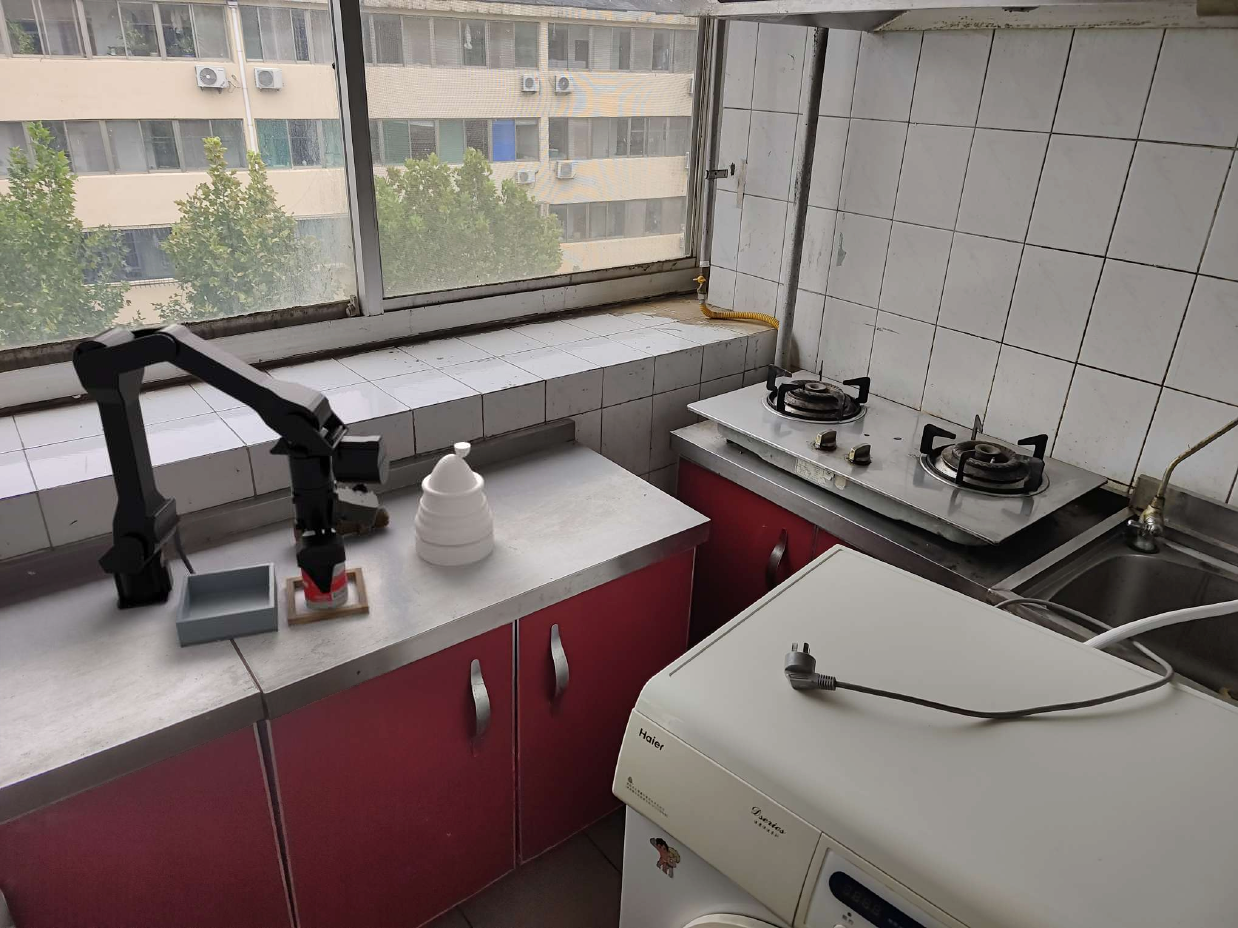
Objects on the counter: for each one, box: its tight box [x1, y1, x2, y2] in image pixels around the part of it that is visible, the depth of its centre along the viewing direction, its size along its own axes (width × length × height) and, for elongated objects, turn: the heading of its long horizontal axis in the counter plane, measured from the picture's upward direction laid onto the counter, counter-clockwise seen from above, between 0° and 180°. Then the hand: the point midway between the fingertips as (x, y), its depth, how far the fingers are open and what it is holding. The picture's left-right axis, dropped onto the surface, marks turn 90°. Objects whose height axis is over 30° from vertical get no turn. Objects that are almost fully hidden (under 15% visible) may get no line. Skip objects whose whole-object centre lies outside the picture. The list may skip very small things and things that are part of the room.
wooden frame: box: [285, 566, 370, 627], centre depth 123 cm, size 11×11×1 cm
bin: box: [175, 562, 279, 648], centre depth 118 cm, size 12×12×4 cm
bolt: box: [292, 507, 390, 543], centre depth 139 cm, size 6×5×15 cm
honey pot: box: [413, 441, 495, 567], centre depth 135 cm, size 13×13×18 cm
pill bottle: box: [300, 529, 349, 610], centre depth 121 cm, size 6×6×11 cm
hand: (324, 575), depth 122 cm, fingers open, 9 cm apart
